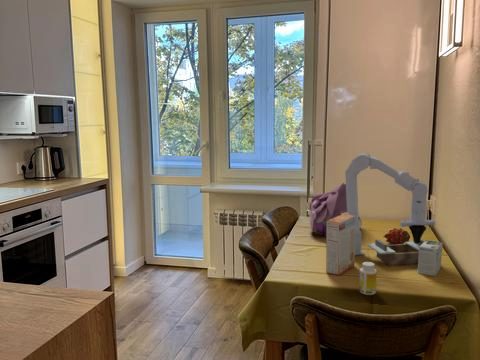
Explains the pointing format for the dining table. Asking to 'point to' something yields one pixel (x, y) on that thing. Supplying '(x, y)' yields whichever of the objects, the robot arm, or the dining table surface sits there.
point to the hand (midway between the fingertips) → (416, 242)
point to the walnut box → (400, 255)
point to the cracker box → (340, 244)
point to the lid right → (415, 244)
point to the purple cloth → (327, 208)
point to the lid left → (381, 247)
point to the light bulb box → (430, 257)
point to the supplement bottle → (368, 278)
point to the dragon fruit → (397, 236)
